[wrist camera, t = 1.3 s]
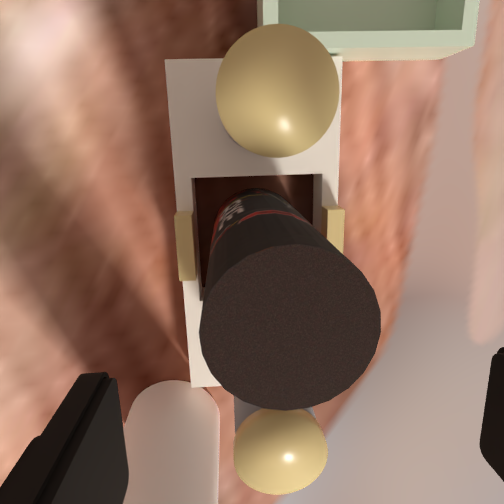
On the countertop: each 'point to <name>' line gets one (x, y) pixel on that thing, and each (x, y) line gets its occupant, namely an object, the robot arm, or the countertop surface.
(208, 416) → the cylindrical container
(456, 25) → the tray
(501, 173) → the countertop surface
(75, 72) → the countertop surface
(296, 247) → the deodorant
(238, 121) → the fuse block
